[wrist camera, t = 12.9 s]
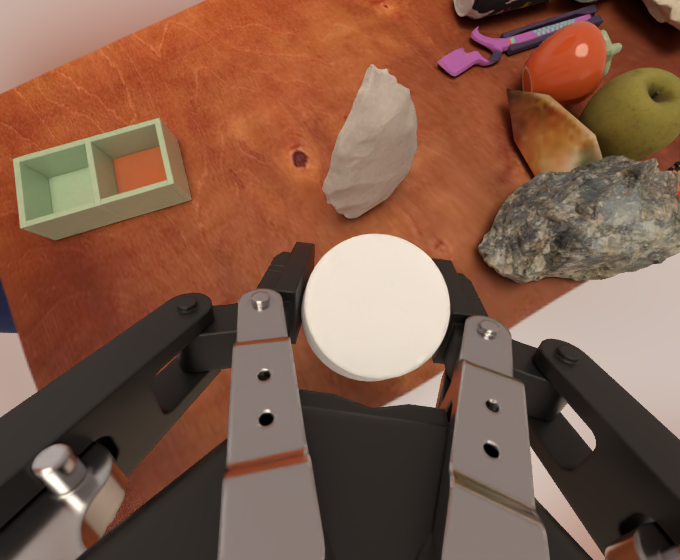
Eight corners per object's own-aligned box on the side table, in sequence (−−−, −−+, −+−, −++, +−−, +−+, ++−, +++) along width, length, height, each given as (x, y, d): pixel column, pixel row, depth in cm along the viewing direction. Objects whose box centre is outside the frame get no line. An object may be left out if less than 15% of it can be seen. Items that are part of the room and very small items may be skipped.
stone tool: (340, 239, 31) (336, 147, 16) (321, 216, 31) (301, 107, 17) (408, 189, 32) (462, 59, 17) (389, 168, 32) (426, 24, 18)
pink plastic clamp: (446, 76, 34) (430, 38, 34) (443, 82, 35) (427, 46, 35) (607, 24, 35) (588, -11, 36) (600, 32, 36) (582, -3, 36)
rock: (533, 244, 20) (491, 142, 25) (482, 299, 29) (458, 217, 33) (754, 223, 20) (670, 122, 24) (633, 286, 28) (588, 204, 33)
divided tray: (55, 240, 31) (19, 228, 28) (47, 177, 33) (12, 158, 29) (192, 200, 32) (174, 183, 29) (178, 140, 34) (159, 117, 30)
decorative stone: (551, 50, 28) (563, 56, 29) (494, 96, 33) (507, 99, 34) (614, 186, 27) (623, 184, 28) (545, 214, 31) (556, 211, 33)
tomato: (538, 129, 31) (637, 95, 28) (536, 48, 27) (651, -3, 24) (519, 111, 37) (600, 81, 33) (515, 41, 32) (606, -2, 29)
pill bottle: (298, 339, 16) (253, 336, 8) (341, 264, 17) (341, 189, 9) (377, 384, 16) (418, 432, 7) (417, 304, 16) (494, 267, 8)
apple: (598, 103, 34) (664, 40, 27) (647, 157, 32) (732, 106, 25) (544, 134, 33) (598, 77, 26) (592, 191, 31) (663, 147, 24)
